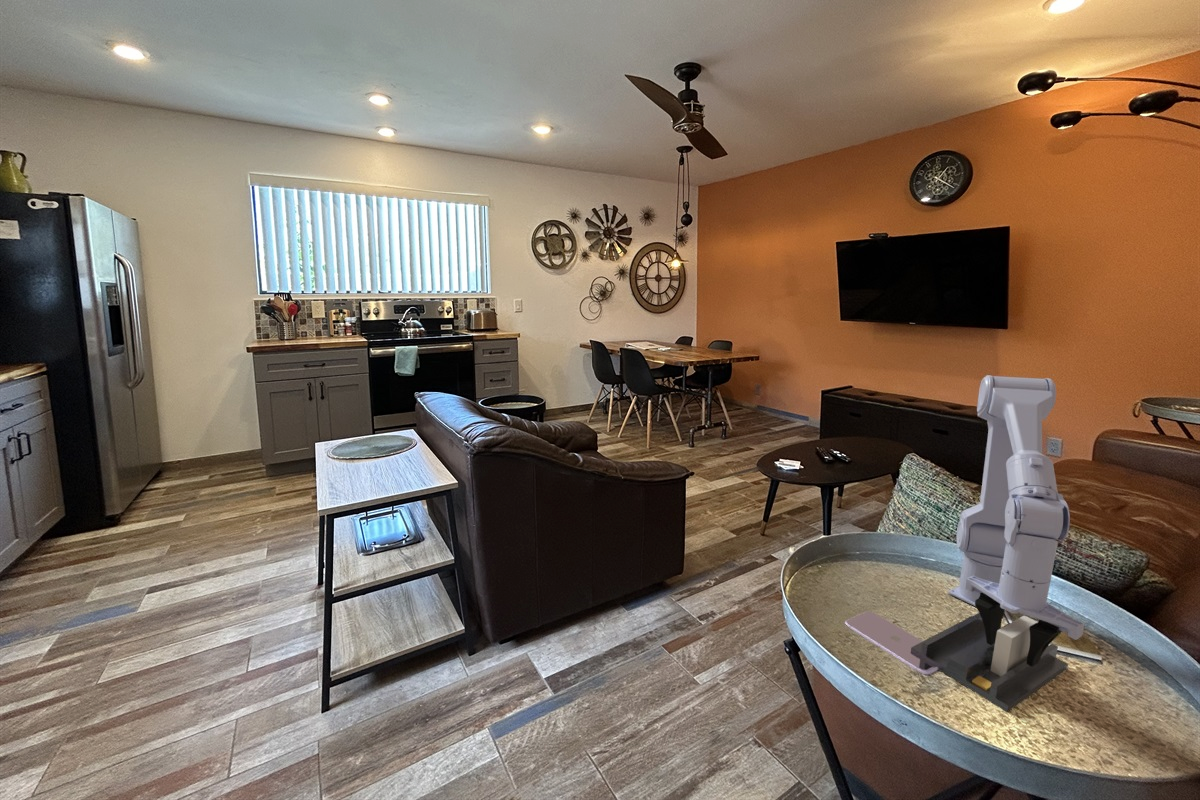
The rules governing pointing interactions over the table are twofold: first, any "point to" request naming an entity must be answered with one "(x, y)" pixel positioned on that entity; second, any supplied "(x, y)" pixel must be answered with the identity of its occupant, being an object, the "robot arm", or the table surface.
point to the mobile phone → (890, 640)
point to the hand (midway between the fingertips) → (1011, 652)
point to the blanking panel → (1011, 645)
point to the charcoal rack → (986, 664)
